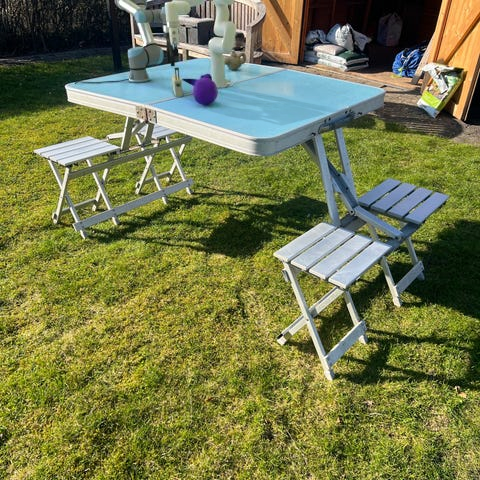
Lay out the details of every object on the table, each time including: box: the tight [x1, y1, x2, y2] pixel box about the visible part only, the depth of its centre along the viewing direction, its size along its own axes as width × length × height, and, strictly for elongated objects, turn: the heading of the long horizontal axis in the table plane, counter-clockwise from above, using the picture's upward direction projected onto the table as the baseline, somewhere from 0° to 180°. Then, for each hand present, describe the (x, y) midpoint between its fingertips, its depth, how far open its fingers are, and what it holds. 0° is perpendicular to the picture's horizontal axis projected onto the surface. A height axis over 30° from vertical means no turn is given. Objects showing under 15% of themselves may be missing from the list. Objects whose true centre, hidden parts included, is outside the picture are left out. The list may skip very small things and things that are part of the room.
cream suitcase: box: [171, 77, 184, 98], centre depth 298 cm, size 17×5×9 cm, turn 12°
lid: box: [171, 66, 183, 83], centre depth 293 cm, size 18×5×8 cm, turn 12°
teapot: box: [224, 50, 247, 71], centre depth 368 cm, size 21×12×15 cm, turn 120°
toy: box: [181, 73, 219, 106], centre depth 272 cm, size 16×18×27 cm
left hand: (171, 64), depth 320 cm, fingers open, 13 cm apart
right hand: (175, 55), depth 281 cm, fingers open, 9 cm apart
